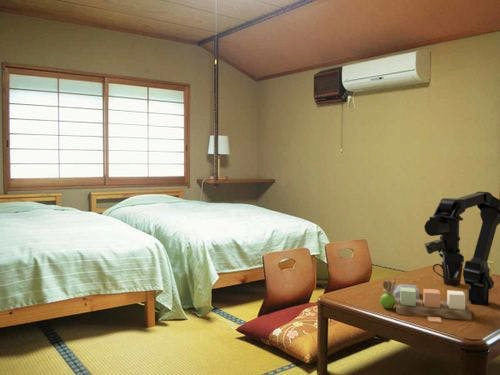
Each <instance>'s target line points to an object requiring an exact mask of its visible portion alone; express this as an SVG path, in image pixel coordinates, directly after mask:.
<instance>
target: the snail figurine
mask: <svg viewBox="0 0 500 375" xmlns="http://www.w3.org/2000/svg"><path fill="white" fill-rule="evenodd" d="M396 280H397V277H393V278H392V281H391V280H390V279H384V280H383V282H382V285H383V288H382V290H383V292H384V293H383V294H382V295H380V299H379V303H380V305H381V306H382V307H383V308H384V309H391V308H393V307H395V303H396V300H395V297H394V296H393V292H394V289H395V285H397V283H396Z"/></svg>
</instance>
